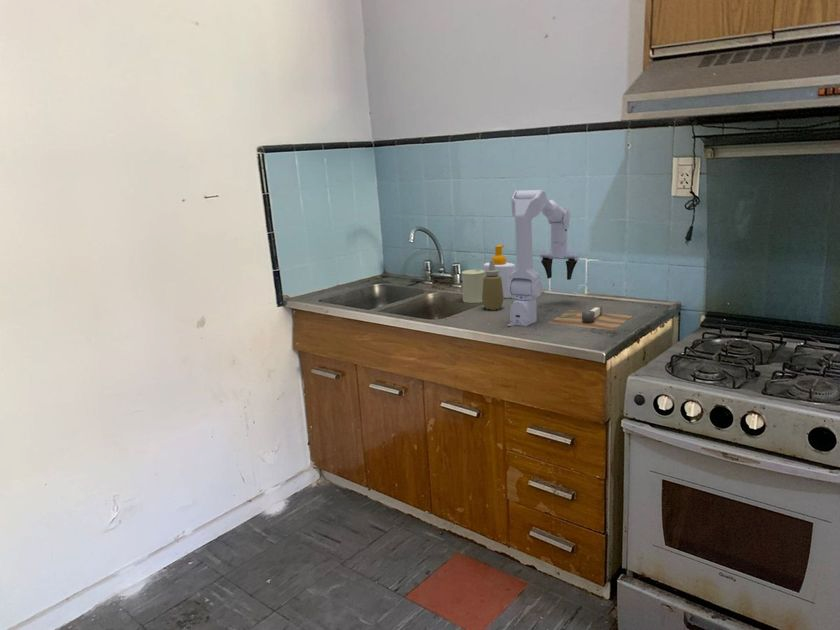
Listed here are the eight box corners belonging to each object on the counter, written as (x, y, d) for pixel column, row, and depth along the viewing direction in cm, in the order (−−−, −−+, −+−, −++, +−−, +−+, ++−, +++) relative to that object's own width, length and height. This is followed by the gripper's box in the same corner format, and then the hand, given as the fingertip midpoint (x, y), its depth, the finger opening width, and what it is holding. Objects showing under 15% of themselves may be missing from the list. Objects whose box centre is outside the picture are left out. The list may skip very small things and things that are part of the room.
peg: (591, 323, 202) (592, 314, 201) (580, 321, 204) (580, 313, 203) (605, 314, 212) (605, 305, 211) (594, 313, 214) (594, 304, 213)
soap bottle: (519, 295, 252) (518, 245, 247) (510, 299, 246) (509, 248, 241) (489, 293, 260) (488, 244, 255) (480, 297, 253) (478, 247, 248)
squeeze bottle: (508, 309, 231) (506, 260, 227) (488, 312, 228) (487, 263, 224) (497, 305, 238) (496, 258, 234) (478, 307, 236) (476, 260, 231)
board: (613, 333, 194) (613, 329, 193) (547, 325, 206) (547, 322, 206) (632, 318, 208) (632, 315, 208) (569, 312, 221) (569, 309, 221)
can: (490, 299, 249) (489, 269, 246) (476, 304, 242) (475, 273, 239) (472, 296, 255) (471, 267, 252) (457, 301, 248) (456, 271, 245)
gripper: (582, 240, 225) (582, 277, 229) (545, 239, 234) (545, 275, 237) (575, 243, 220) (574, 281, 223) (536, 242, 228) (537, 278, 231)
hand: (559, 278), depth 230 cm, fingers open, 7 cm apart
